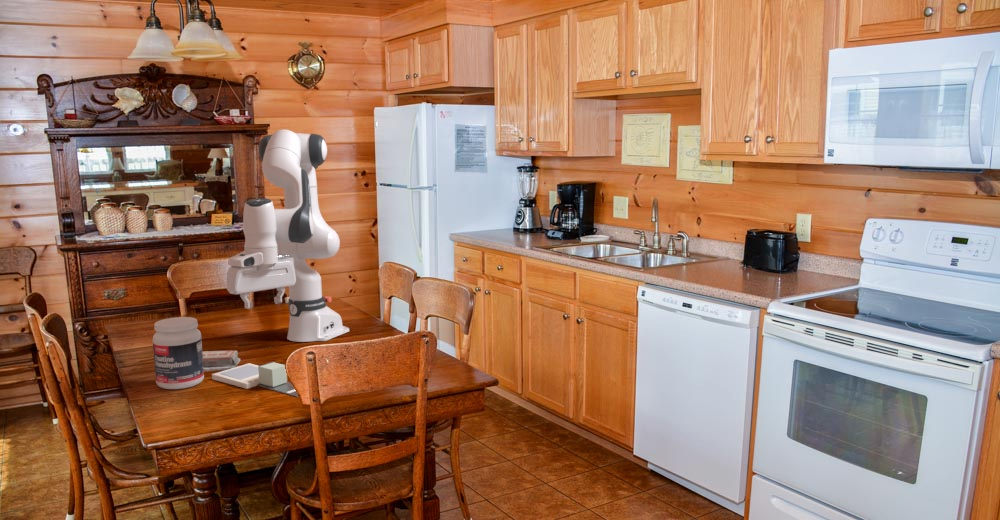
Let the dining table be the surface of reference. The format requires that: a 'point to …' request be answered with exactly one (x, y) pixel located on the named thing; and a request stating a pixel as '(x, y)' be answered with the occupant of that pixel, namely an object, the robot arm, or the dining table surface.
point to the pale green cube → (272, 374)
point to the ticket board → (250, 379)
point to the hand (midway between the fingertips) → (263, 305)
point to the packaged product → (220, 360)
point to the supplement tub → (178, 353)
